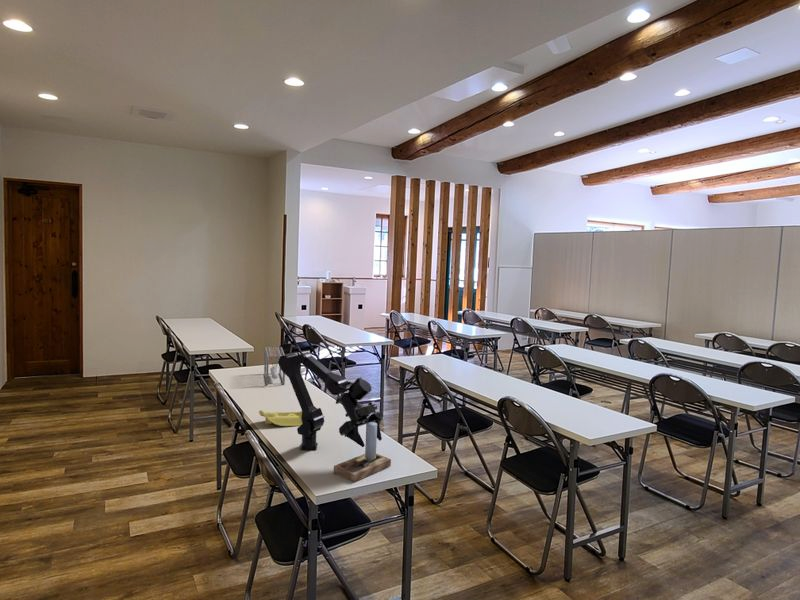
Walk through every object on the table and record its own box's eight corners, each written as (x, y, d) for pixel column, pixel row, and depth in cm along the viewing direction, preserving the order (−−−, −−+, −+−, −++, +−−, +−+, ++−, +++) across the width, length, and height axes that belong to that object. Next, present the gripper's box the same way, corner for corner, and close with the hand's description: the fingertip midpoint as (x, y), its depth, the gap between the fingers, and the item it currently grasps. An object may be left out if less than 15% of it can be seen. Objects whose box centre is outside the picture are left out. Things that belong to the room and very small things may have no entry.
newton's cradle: (284, 385, 297) (285, 355, 295) (266, 386, 294) (266, 355, 292) (281, 373, 325) (281, 346, 324) (264, 374, 322) (264, 346, 321)
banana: (300, 412, 240) (305, 408, 232) (300, 428, 238) (305, 425, 229) (257, 413, 232) (261, 409, 224) (257, 429, 230) (260, 426, 221)
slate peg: (360, 465, 188) (362, 422, 187) (372, 462, 191) (374, 420, 190) (367, 470, 184) (369, 427, 183) (379, 467, 187) (381, 425, 186)
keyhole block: (354, 482, 174) (354, 474, 174) (333, 472, 181) (333, 465, 180) (390, 465, 189) (391, 459, 188) (370, 458, 195) (370, 451, 195)
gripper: (345, 400, 181) (366, 438, 175) (380, 391, 196) (401, 426, 190) (329, 416, 187) (349, 454, 181) (364, 406, 201) (384, 441, 195)
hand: (372, 443), depth 187 cm, fingers open, 9 cm apart
